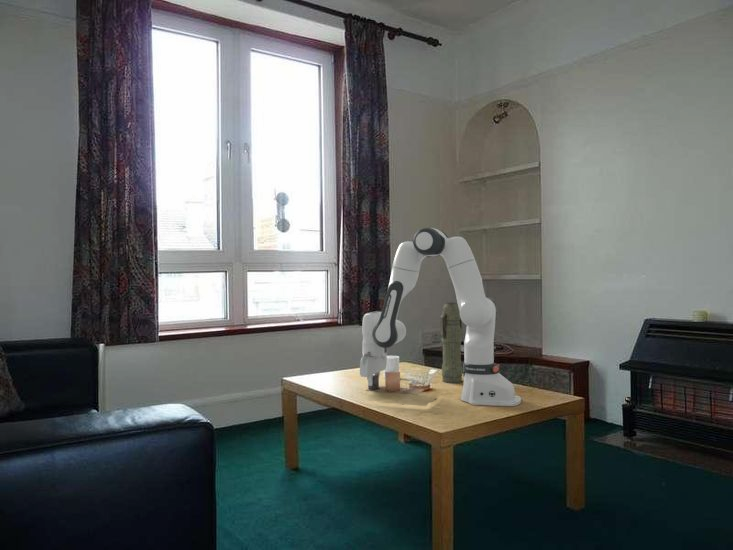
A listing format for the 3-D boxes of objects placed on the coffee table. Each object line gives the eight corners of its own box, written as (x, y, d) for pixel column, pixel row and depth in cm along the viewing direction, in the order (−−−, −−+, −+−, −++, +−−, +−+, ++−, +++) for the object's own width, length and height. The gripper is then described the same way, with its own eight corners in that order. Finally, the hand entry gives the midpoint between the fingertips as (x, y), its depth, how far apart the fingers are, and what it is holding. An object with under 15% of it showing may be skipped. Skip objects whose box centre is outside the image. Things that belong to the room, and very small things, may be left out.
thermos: (435, 381, 251) (434, 303, 250) (453, 378, 258) (452, 301, 258) (450, 384, 244) (449, 303, 244) (468, 380, 252) (467, 302, 251)
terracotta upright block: (402, 388, 230) (402, 371, 230) (397, 391, 224) (396, 374, 224) (388, 387, 232) (388, 370, 232) (383, 390, 227) (383, 373, 227)
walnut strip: (424, 392, 228) (424, 377, 228) (417, 397, 219) (416, 381, 219) (374, 388, 237) (374, 373, 237) (365, 393, 228) (365, 378, 228)
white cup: (388, 380, 254) (388, 358, 254) (379, 378, 261) (379, 356, 261) (402, 378, 258) (402, 357, 258) (393, 376, 265) (393, 355, 265)
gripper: (370, 354, 221) (370, 389, 221) (389, 347, 239) (389, 380, 240) (355, 353, 223) (356, 388, 223) (375, 347, 242) (375, 379, 242)
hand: (373, 384), depth 232 cm, fingers closed on walnut strip, 4 cm apart
